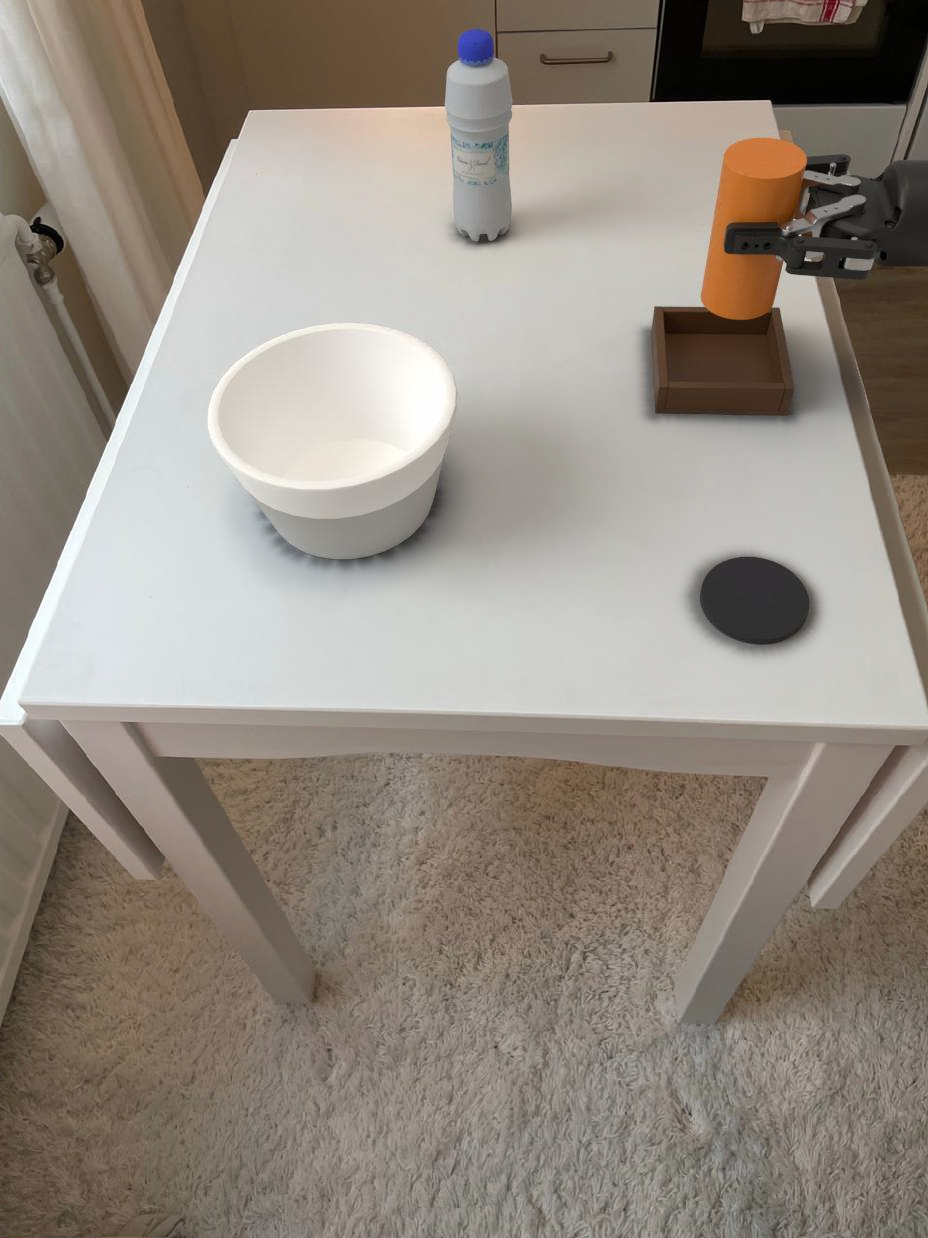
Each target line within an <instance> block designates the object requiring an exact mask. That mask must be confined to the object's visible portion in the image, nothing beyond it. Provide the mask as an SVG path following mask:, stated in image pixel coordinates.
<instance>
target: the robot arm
mask: <svg viewBox="0 0 928 1238" xmlns="http://www.w3.org/2000/svg"><path fill="white" fill-rule="evenodd" d="M806 157H807V164H806V168H805V173H804V177H803V181H802V185H801V190H800V194H799V198H798V202H797V206H796V211H795V215H794V219H793V221H791V222H787V223H784V224H782V225H781V228H780V229H778V228H779V226H778V222H733V223H730V224H729V225H728V226H727V227H726V232H725V237H724V243H723V245H724V251H725V252H726V253H727V254H739V255H747V254H748V255H752V254H754V255H774V257H775V258H776V259H777V260H780V261H784V262H783V263H785V264H786V265H785V268H784V270H785V272H786V274H789V275H793V276H805V277H807V276H808V277H820V278H830V279H831V278H832V279H844V280H857V281H858V280H859V281H864V280H866V279H868V278H869V275H870V272H871V269H872V267H873V264H875V265H877V266H878V267H928V159H897V160H894V161H892V162H890V163H889V164H888V165H887V166H886V167H885V168H884V171H883V172H882V173H881V174H879V175H878V176H877V177H874V178H873V177H865V176H861V175H857V174H851V172H850V171H849V167H850V163H851V160H852V157H851V156H850V155H848V154H845V153H838V154H827V155H825V154H824V155H811V156H806ZM808 195H809V196H808ZM807 197H808V200H807ZM819 257H821V260H819V261H815V260H812V259H816V258H819ZM805 259H807V260H805Z"/></svg>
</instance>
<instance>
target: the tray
mask: <svg viewBox="0 0 928 1238" xmlns="http://www.w3.org/2000/svg"><path fill="white" fill-rule="evenodd" d="M783 324H784V323H783V318H782V312H781V309H780V307H779V306H778V307H777V306H776V307H773V306H772V308H771V309H770V310H769V311H768V312H767V313H765V314H764V315H762V316H760V317H757V318H753V319H747V320H734V319H728V318H724V317H721V316H718V315H716V314H714V313H712V312H710V311H709V310H708V309H707V308H706V307H705V306H663V305H661V306H660V305H659V306H658V305H655V306H654V308H653V315H652V322H651V329H650V338H651V339H650V340H651V354H652V355H651V357H652V375H653V378H652V379H653V392H654V393H653V396H654V398H653V399H654V413H656V414H697V415H749V416H750V415H752V416H753V415H755V416H756V415H757V416H788V413H789V410H790V407H791V403H792V400H793V396H794V392H795V385H794V378H793V373H792V368H791V367H792V366H791V361H790V356H789V351H788V346H787V340H786V334H785V329H784V325H783Z"/></svg>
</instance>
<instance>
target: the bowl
mask: <svg viewBox="0 0 928 1238" xmlns="http://www.w3.org/2000/svg"><path fill="white" fill-rule="evenodd" d="M457 401H458V388H457V384H456V380H455V376H454V374H453V373H452V371H451V369H450V367H449V366H448V364H447V362H446V360H445V359H443V357H442V356H441V355H440V354H439V353H438V352H437V351H436V350H435V349H434V348H433V347H431V346H430V345H429V344H428V343H426V342H424V341H422V340H421V339H420V338H418V337H416V336H413V335H411V334H409V333H406V332H404V331H402V330H399V329H395V328H391V327H388V326H383V325H380V324H372V323H362V322H335V323H326V324H320V325H319V324H318V325H312V326H307V327H304V328H299V329H296V330H293V331H289V332H287V333H285V334H282V335H279V336H277V337H274V338H272V339H270V340H268V341H266V342H264V343H262V344H261V345H259V346H257V347H255V348H253V349H252V350H250V351H249V352H248V353H246V354H245V355H244V356H242V357H241V358H240V359H238V360H237V361H236V362H235V363H233V365H232V366H231V367H230V368H229V369H228V370H227V371H226V372H225V374H224V375H223V376H221V379H220V380H219V382H218V383H217V385H216V387H215V389H214V390H213V392H212V395H211V398H210V401H209V405H208V408H207V430H208V434H209V437H210V441H211V444H212V445H213V447H214V449H215V450H216V452H217V453H218V455H219V456H220V458H221V459H222V461H223V462H224V463H225V465H226V466H227V467H228V468H229V470H230V471H231V472H232V474H233V475H234V477H235V478H236V479H237V480H238V482H239V483H240V484H241V486H242V487H243V488H244V490H245V491H247V493H248V494H249V496H250V497H251V498H252V499H253V501H254V502H255V503H256V505H257V507H258V508H259V509H260V510H261V511H262V513H263V514H264V515H265V517H266V518H267V519H268V520H269V522H270V524H271V525H272V526H273V527H274V529H275V530H276V531H277V533H278V534H279V535H280V536H281V537H282V538H283V539H284V540H285V541H286V542H287V543H288V544H289V545H291V546H292V547H294V548H296V549H297V550H299V551H301V552H303V553H305V554H309V555H311V556H315V557H317V558H323V559H324V558H325V559H330V560H354V559H355V560H356V559H361V558H367V557H371V556H374V555H378V554H381V553H384V552H386V551H388V550H391V549H392V548H395V547H397V546H399V545H400V544H402V543H403V542H404V541H405V540H407V539H409V538H410V537H411V536H412V535H413V534H415V533H416V531H417V530H419V528H420V527H422V525H423V523H424V522H425V520H426V519H427V517H428V516H429V515H430V512H431V509H432V505H433V503H434V500H435V495H436V491H437V487H438V484H439V479H440V474H441V471H442V467H443V463H444V459H445V455H446V451H447V448H448V445H449V440H450V437H451V431H452V428H453V424H454V420H455V416H456V412H457V405H458V402H457Z"/></svg>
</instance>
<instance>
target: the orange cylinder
mask: <svg viewBox="0 0 928 1238" xmlns="http://www.w3.org/2000/svg"><path fill="white" fill-rule="evenodd" d="M807 157H808V156H807V155H806V152H804V150H803V149H802V148H801V147H799V146H798V145H796V144H794V143H792V142H790V141H787V140H783V139H779V138H773V137H751V138H745V139H742V140H741V139H740V140H739V141H736V142H733V143H732V144H731V145H729V146H728V147H727V148H726V149H725V150H724V153H723V158H722V163H721V164H722V165H721V171H720V177H719V182H718V188H717V194H716V201H715V207H714V211H713V219H712V225H711V229H710V230H711V232H710V236H709V243H708V249H707V256H706V262H705V269H704V274H703V279H702V285H701V291H700V301H701V303H702V305H703V307H706V308H707V309H708V310H709V311H710V312H712V313H714V314H716V315H718V316H721V317H724V318H728V319H734V320H747V319H753V318H757V317H760V316H762V315H764V314H765V313H767V312H768V311H769V310H770V309H771V308H772V307H773V306H774V303H775V299H776V295H777V291H778V287H779V282H780V278H781V274H782V270H783V265H784V263H785V262H784V261H780V260H777V259H776V258H775V257H774V255H754V254H752V255H748V254H747V255H739V254H727V253H726V252H725V251H724V245H723V243H724V237H725V232H726V227H727V226H728V225H729V224H730V223H733V222H778V226H779V228H778V229H780V228H781V225H782V224H784V223H787V222H791V221H794V220H795V219H794V215H795V211H796V206H797V202H798V198H799V194H800V190H801V185H802V181H803V177H804V173H805V168H806V164H807Z"/></svg>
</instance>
